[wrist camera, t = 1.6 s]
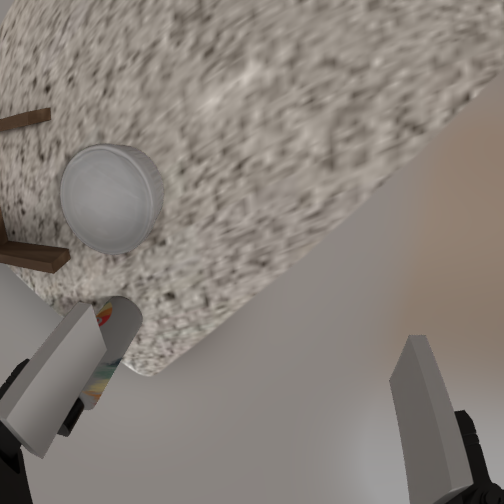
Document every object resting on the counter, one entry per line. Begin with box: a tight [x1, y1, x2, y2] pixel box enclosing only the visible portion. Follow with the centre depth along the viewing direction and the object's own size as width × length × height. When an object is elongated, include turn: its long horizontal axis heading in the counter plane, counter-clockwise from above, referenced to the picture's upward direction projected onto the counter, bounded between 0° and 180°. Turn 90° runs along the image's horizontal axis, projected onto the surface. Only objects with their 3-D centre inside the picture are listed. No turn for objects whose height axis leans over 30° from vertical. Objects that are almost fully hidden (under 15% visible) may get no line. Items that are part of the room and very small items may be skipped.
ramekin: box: [60, 144, 164, 255], centre depth 30 cm, size 11×11×5 cm
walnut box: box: [0, 108, 71, 274], centre depth 32 cm, size 20×15×4 cm
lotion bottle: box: [57, 297, 142, 437], centre depth 31 cm, size 6×6×20 cm
